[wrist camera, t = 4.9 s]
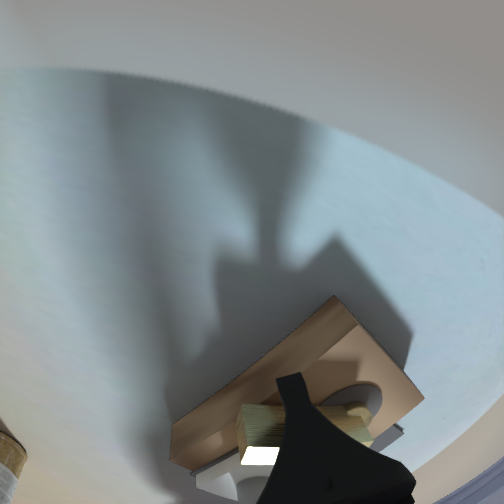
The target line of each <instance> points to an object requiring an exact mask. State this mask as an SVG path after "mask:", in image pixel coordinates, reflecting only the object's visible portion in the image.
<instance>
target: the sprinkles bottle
mask: <svg viewBox="0 0 504 504" xmlns="http://www.w3.org/2000/svg"><path fill="white" fill-rule="evenodd" d="M26 461H27V454H26V453H25V451H24V450H23V448H22V447H21V446H20V445H19V444H18V443H17V442H15V441H14V440H13V439H12V438H10V437H9V436H7V435H6V434H4V433H2V432H0V504H10V503H11V500H12V497H13V494H14V492H15V489H16V486H17V483H18V478H19V476H20V473H21V471H22V468H23V466H24V463H25V462H26Z"/></svg>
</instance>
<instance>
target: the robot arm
mask: <svg viewBox="0 0 504 504" xmlns="http://www.w3.org/2000/svg"><path fill="white" fill-rule="evenodd" d="M275 380H276V383H277V387H278V390H279V394H280V397H281V401H282V405H283V408H284V412H285V422H284V428H283V434H282V439H281V443H280V447H279V451H278V454H277V457H276V460H275V463H274V466H273V469H272V471H271V474H270V476H269V478H268V481H267V483H266V485H265V487H264V489H263V491H262V493H261V495H260V497H259V499H258V500H257V502H256V504H414V502H415V501H414V499H413V497H412V495H411V493H412V491H413V489H414V487H415V485H416V480H415V478H414V476H413V475H412V474H411V472H410V471H409V470H408V469H407V468H406V467H405V466H404V465H403V464H402V463H401V462H399V461H397V460H394V459H392V458H389V457H387V456H385V455H382V454H380V453H378V452H376V451H374V450H372V449H370V448H369V447H367V446H365V445H363V444H362V443H360V442H358V441H357V440H355V439H353V438H352V437H350V436H349V435H348V434H346V433H345V432H343V431H342V430H341V429H339V428H338V427H337V426H336V425H334V424H333V423H332V422H331V421H330V420H329V419H327V418H326V417H325V416H324V415H323V414H322V413H321V412H320V411H319V410H318V409H317V408H316V407H315V406H314V405H313V404H312V402H311V401H310V398H309V394H308V390H307V386H306V383H305V381H304V378H303V376H302V374H301V372H297V373H294V374H290V375H287V376H283V377H280V378H276V379H275ZM433 504H504V457H502V458H501V459H500V460H499V461H497V462H496V463H495V464H493V465H492V466H491V467H489V468H488V469H487V470H485V471H484V472H482V473H481V474H480V475H478V476H477V477H476V478H474V479H472V480H471V481H469V482H468V483H466V484H465V485H463V486H462V487H460V488H459V489H457V490H456V491H454V492H452V493H450V494H449V495H447V496H445V497H444V498H442V499H440V500H439V501H437V502H435V503H433Z"/></svg>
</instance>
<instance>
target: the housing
mask: <svg viewBox="0 0 504 504" xmlns="http://www.w3.org/2000/svg"><path fill="white" fill-rule="evenodd" d="M297 372H301V374H302V376H303V378H304V381H305V383H306V386H307V390H308V394H309V398H310V401H311V402H312V404H313V405H314V406H344V405H346V404H349V403H352V402H357V401H359V402H363V403H365V404H366V405H367V407H368V409H369V411H370V412H371V414H372V417H373V419H372V422H371V423H370V425H369V426H368V427H367V429H368V430H369V432H370V434H371V436H372V438H373V439H374V438H376V437H377V436H379V435H380V434H381V433H383V432H384V431H385V430H387V429H388V428H389V427H391V426H392V425H393V424H395V423H396V422H397V421H398V420H400V419H401V418H402V417H403V416H405V415H406V414H407V413H408V412H410V411H411V410H412V409H413V408H414V407H416V406H417V405H418V404H419V403H420V402H421V401H423V400H424V399H425V398H424V396H423V395H422V394H421V392H420V391H419V390H418V389H417V387H416V386H415V385H414V383H413V382H412V381H411V380H410V378H409V377H408V376H407V375H406V373H405V372H404V371H403V370H402V369H401V367H400V366H399V365H398V364H397V363H396V362H395V361H394V360H393V359H392V357H391V356H390V355H389V354H388V353H387V352H386V351H385V350H384V349H383V347H382V346H381V345H380V344H379V343H378V342H377V341H376V340H375V339H374V337H373V336H372V335H371V334H370V333H369V332H368V331H367V330H366V329H365V328H364V327H363V325H362V324H361V323H360V322H359V321H358V320H357V319H356V318H355V317H354V316H353V315H352V314H351V312H350V311H349V310H348V309H347V308H346V307H345V306H344V305H343V304H342V303H341V302H340V301H339V300H338V298H337V297H336V296H335V295H334V296H333V297H332V298H331V299H329V300H328V301H327V302H326V303H325V304H324V305H323V306H322V307H321V308H320V309H318V310H317V311H316V312H315V313H314V314H313V315H312V316H311V317H309V318H308V319H307V320H306V321H305V322H304V323H303V324H301V325H300V326H299V327H298V328H297V329H296V330H294V331H293V332H292V333H291V334H290V335H289V336H287V337H286V338H285V339H284V340H283V341H282V342H280V343H279V344H278V345H277V346H276V347H274V348H273V349H272V350H271V351H269V352H268V353H267V354H266V355H265V356H263V357H262V358H261V359H260V360H258V361H257V362H256V363H255V364H253V365H252V366H251V367H250V368H248V369H247V370H246V371H245V372H243V373H242V374H241V375H239V376H238V377H237V378H236V379H234V380H233V381H232V382H230V383H229V384H228V385H227V386H225V387H224V388H223V389H221V390H220V391H219V392H217V393H216V394H215V395H213V396H212V397H210V398H209V399H208V400H206V401H205V402H204V403H202V404H201V405H200V406H198V407H197V408H195V409H194V410H193V411H191V412H190V413H188V414H187V415H186V416H184V417H183V418H181V419H180V420H178V421H177V422H175V423H174V424H173V425H172V432H171V444H170V457H169V461H171V462H173V463H176V464H178V465H180V466H182V467H185V468H187V469H189V470H191V471H192V472H190V475H192V476H194V477H196V475H197V474H199V473H201V472H203V471H205V470H207V469H209V468H210V467H212V466H214V465H216V464H218V463H220V462H222V461H224V460H225V459H227V458H229V457H231V456H233V455H234V454H236V453H238V452H239V446H238V438H237V430H236V420H237V416H238V413H239V410H240V407H241V404H255V405H273V406H283V405H282V401H281V397H280V394H279V390H278V387H277V383H276V380H275V379H276V378H280V377H283V376H287V375H290V374H294V373H297Z"/></svg>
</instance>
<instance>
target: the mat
mask: <svg viewBox="0 0 504 504" xmlns="http://www.w3.org/2000/svg"><path fill="white" fill-rule="evenodd" d="M403 434H404V433H403V431H401V430H400V429H399V428H397V427H396V426H394V425H392V426H391V427H389V428H388V429H387V430H385V431H384V432H383V433H381V434H380V435H379V436H377V437H376V438H374V439H373V440H374V441H373V443H372V444H371V445H370V447H369V448H370V449H372V450H374V451H376V452H380V451H381V450H383V449H384V448H386V447H387V446H388V445H390V444H391V443H393V442H394V441H395V440H397V439H398V438H399V437H401V436H402V435H403Z"/></svg>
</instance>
